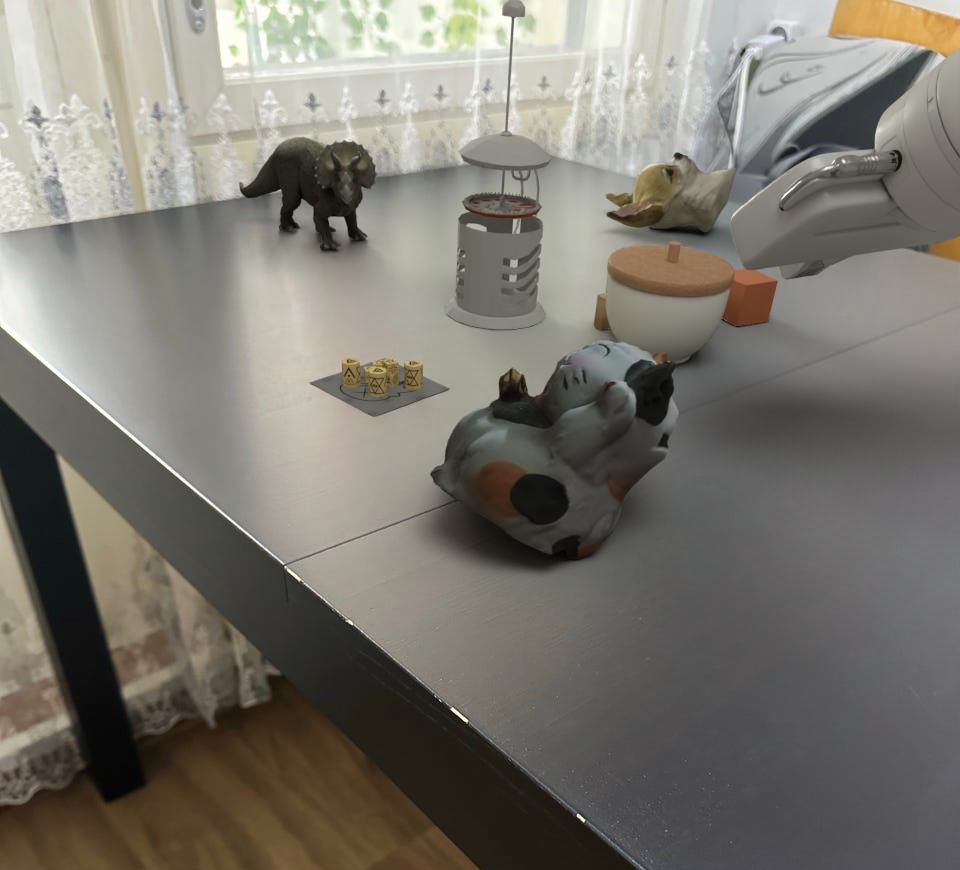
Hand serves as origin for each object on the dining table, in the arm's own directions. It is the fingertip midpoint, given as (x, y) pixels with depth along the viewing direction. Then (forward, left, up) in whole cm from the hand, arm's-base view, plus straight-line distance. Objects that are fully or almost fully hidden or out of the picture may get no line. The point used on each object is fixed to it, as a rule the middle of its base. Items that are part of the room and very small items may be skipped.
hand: (794, 268), depth 69 cm
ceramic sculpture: (-25, -45, -11) cm, 53 cm away
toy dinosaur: (+16, -55, -11) cm, 59 cm away
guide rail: (-6, -20, -11) cm, 24 cm away
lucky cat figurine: (+24, +6, -11) cm, 27 cm away
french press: (+8, -28, -11) cm, 31 cm away
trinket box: (0, -13, -11) cm, 18 cm away
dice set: (+26, -16, -11) cm, 33 cm away
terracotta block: (-13, -17, -11) cm, 24 cm away
